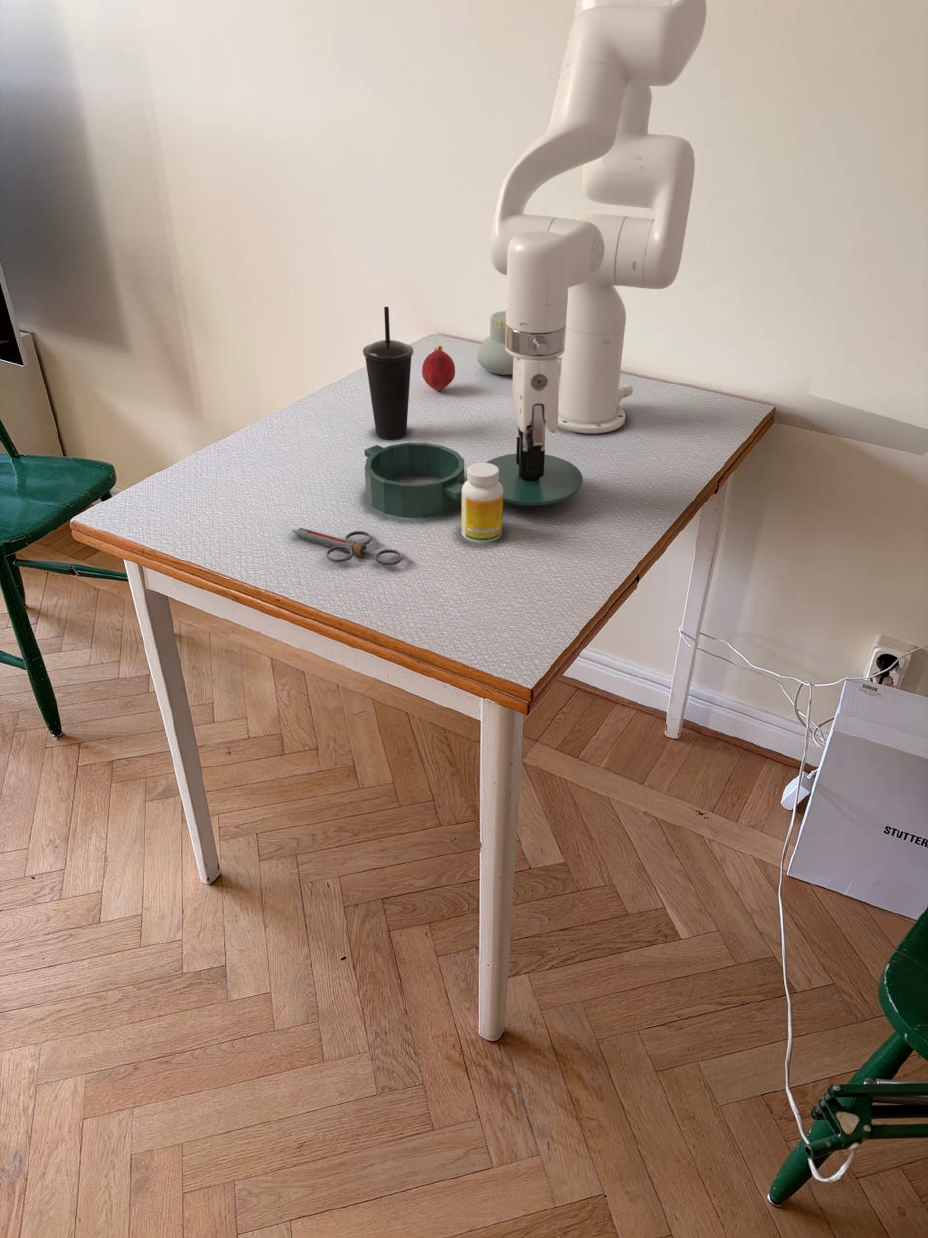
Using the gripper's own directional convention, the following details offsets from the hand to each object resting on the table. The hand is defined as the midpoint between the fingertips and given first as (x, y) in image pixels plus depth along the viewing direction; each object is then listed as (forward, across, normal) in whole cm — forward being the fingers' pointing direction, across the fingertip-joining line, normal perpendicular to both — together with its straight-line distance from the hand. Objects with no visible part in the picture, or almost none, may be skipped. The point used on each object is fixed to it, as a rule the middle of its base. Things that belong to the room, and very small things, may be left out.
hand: (529, 468), depth 129 cm
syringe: (+5, -11, +26) cm, 29 cm away
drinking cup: (+6, +24, +19) cm, 31 cm away
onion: (+6, +42, +10) cm, 44 cm away
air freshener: (+6, +52, -3) cm, 52 cm away
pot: (+5, +2, +16) cm, 17 cm away
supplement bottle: (+5, -9, +8) cm, 13 cm away
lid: (+2, 0, 0) cm, 2 cm away
